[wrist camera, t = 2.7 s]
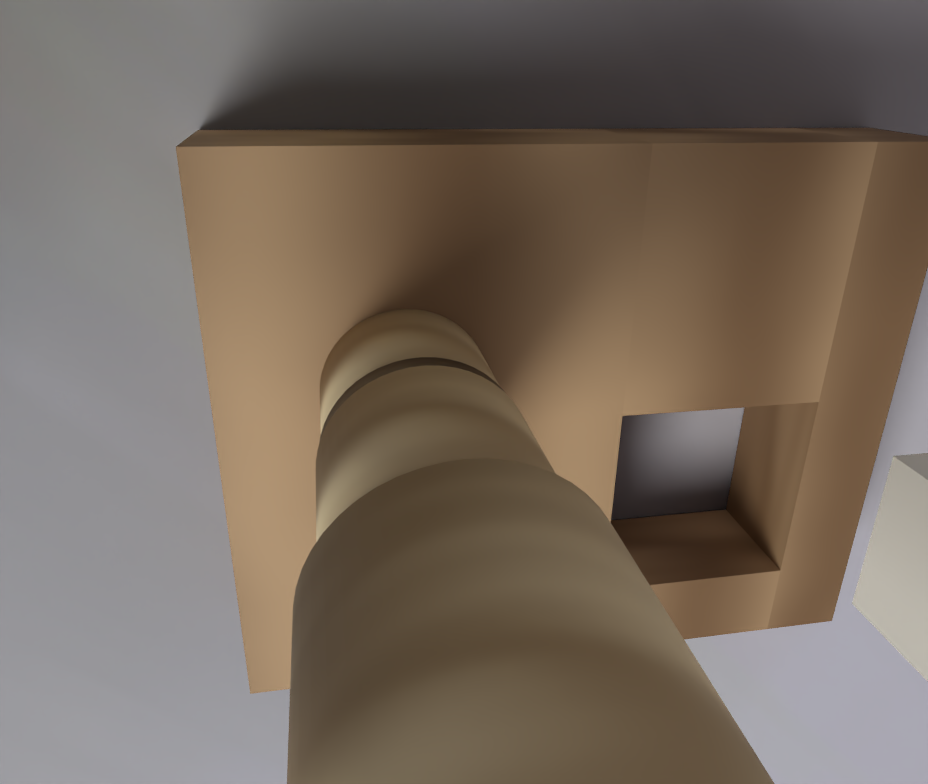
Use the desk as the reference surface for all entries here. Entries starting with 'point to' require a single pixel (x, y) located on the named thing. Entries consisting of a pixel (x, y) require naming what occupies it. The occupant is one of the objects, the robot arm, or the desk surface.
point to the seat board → (572, 326)
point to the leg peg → (477, 597)
